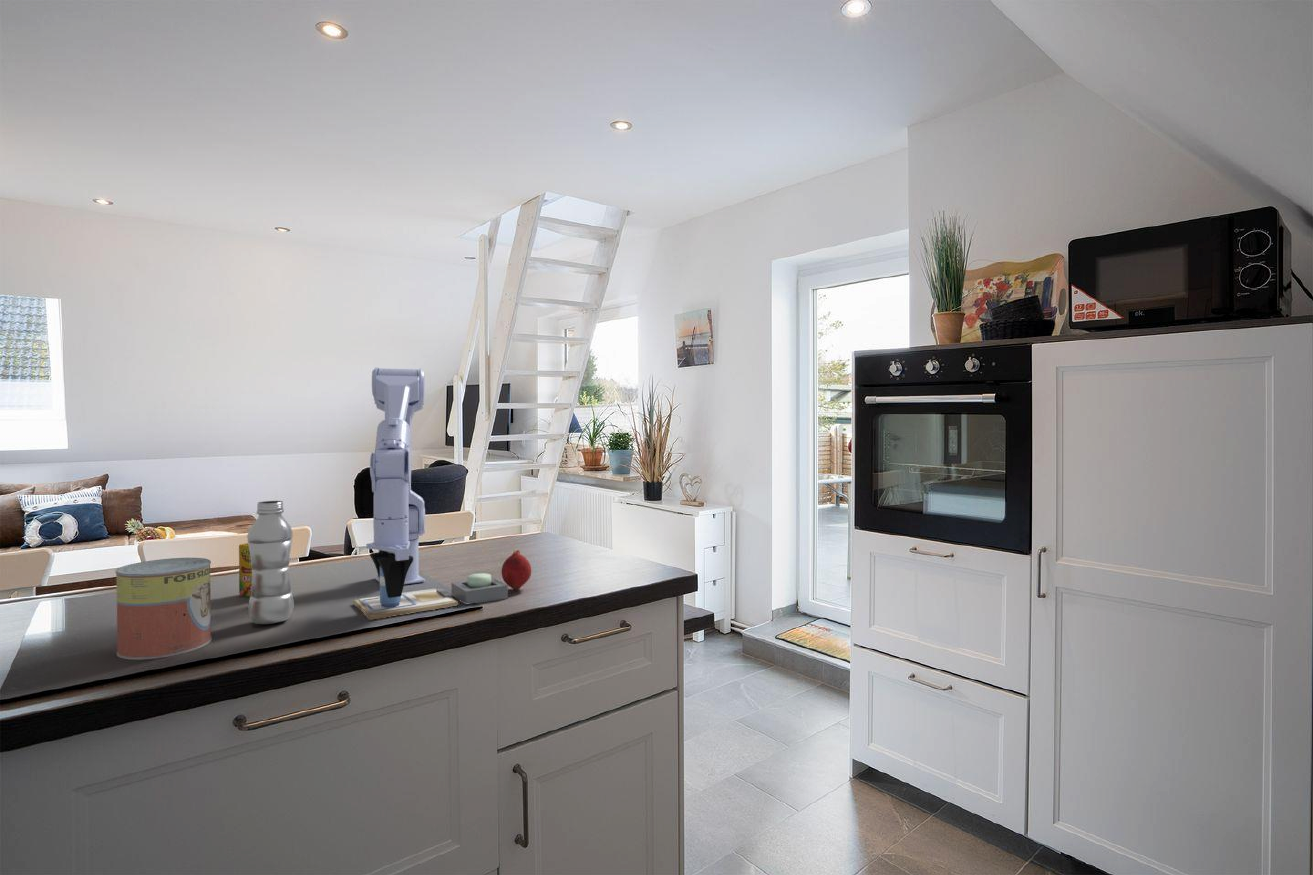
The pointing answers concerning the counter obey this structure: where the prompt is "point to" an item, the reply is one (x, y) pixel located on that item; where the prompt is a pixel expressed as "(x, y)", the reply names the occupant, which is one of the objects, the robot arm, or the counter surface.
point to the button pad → (479, 592)
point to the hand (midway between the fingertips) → (391, 594)
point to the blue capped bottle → (384, 598)
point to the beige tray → (406, 603)
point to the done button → (478, 580)
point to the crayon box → (245, 570)
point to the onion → (516, 570)
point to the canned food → (163, 608)
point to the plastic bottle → (270, 565)
